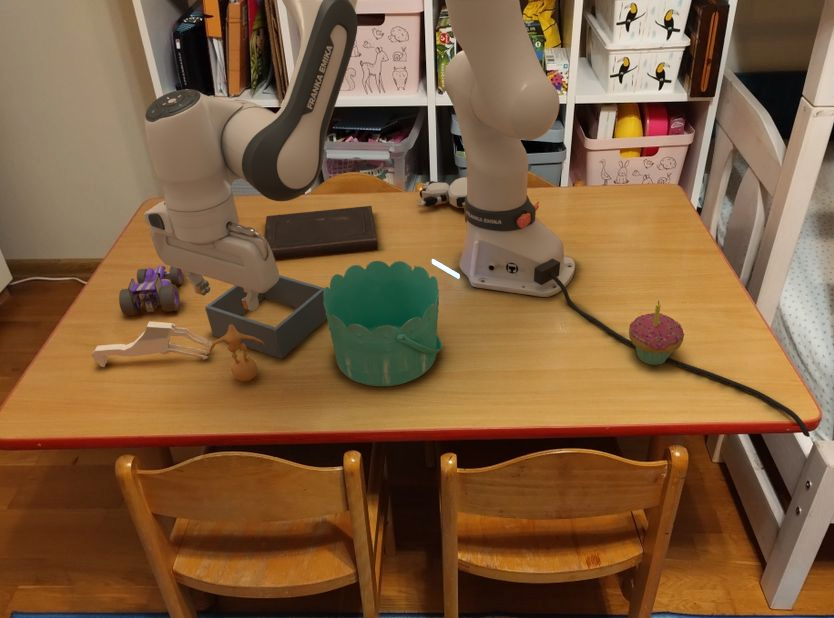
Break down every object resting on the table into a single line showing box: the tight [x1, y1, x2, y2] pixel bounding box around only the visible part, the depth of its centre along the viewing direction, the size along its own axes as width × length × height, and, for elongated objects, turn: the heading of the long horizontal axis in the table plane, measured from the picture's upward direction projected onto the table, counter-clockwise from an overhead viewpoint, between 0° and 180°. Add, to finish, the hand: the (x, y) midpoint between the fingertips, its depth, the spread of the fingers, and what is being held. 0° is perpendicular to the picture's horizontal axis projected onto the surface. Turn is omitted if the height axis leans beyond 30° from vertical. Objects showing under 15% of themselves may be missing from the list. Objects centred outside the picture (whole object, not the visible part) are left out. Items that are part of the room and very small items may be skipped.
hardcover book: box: [263, 205, 379, 261], centre depth 152 cm, size 16×23×2 cm
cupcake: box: [628, 300, 685, 366], centre depth 113 cm, size 9×8×12 cm
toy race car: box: [118, 265, 184, 316], centre depth 135 cm, size 10×15×6 cm, turn 6°
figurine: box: [209, 324, 265, 382], centre depth 112 cm, size 8×6×12 cm
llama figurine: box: [91, 321, 213, 368], centre depth 119 cm, size 2×11×18 cm
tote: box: [204, 274, 327, 360], centre depth 126 cm, size 15×14×6 cm
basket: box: [323, 260, 443, 387], centre depth 116 cm, size 19×18×13 cm
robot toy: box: [416, 176, 467, 210], centre depth 162 cm, size 12×4×15 cm
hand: (227, 300), depth 106 cm, fingers open, 8 cm apart
